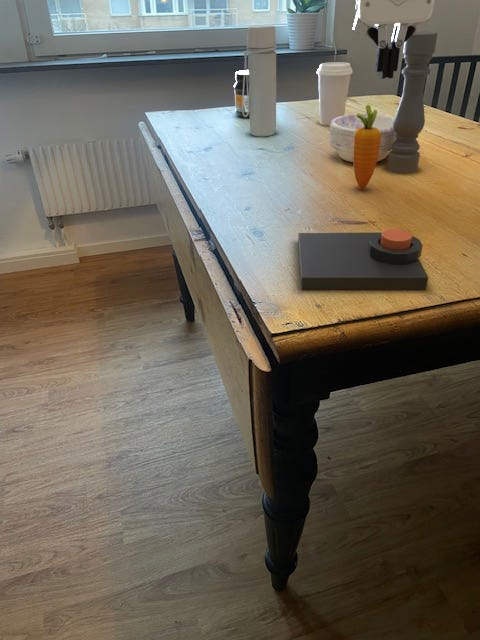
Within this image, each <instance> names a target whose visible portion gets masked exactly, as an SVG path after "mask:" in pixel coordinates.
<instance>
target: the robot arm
mask: <svg viewBox="0 0 480 640" xmlns="http://www.w3.org/2000/svg"><path fill="white" fill-rule="evenodd" d="M355 2H356V3H355V18H354V23H353V25H352V26H353V27H352V32H353V33H355V34H358V35H362V36H365V37H366V36H367V37H368V38H369V39H370V40H371V41H372V42H373V44H374V45H375V46H376V47H377V48H376V57H375V68H374V69H375V73H377V77H379V78H380V79H384V80H385V79H386V78H387V79H393V78H394V72H397V71H398V68H399V60H400V51H401V48H402V47H404V43H405V42H406V41H407V40H408V39H409V38H410V37H411V35H412V34H415V33H419V32H426V31H428V30H429V29H430V25H431V24H430V19H431V17H432V15H433V11H434V5H435V0H355ZM371 25H374V26H371ZM388 25H394V28H393V33H392V36H391V41H390V42H389V43H388V29H387V27H388Z"/></svg>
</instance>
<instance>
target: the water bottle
mask: <svg viewBox="0 0 480 640" xmlns="http://www.w3.org/2000/svg"><path fill="white" fill-rule="evenodd" d="M275 28H276V27H275V25H269V24H268V25H265V24H264V25H250V26H248V27H247V41H246V48H247V49H246V50H243V56H244V68H243V71H244V81H243V95H242V112H243V116H244V117H247V116H248V114H249V110H250V118H249V134H250V135H251V136H254V137H259V138H265V137H266V138H267V137H271V136H273V135H275V134H276V133H277V51H275V50H277V48H278V47H277V46H278V45H277V40H276V29H275ZM245 70H246V80H247V100H248V112H247V115H244V111H243V99H244V83H245ZM247 70H248V72H249V94H248V77H247Z"/></svg>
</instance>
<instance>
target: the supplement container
mask: <svg viewBox="0 0 480 640" xmlns="http://www.w3.org/2000/svg"><path fill="white" fill-rule="evenodd" d="M234 75H235V76H234V78H235V79H234V80H235V81H236V82H235V83H234V85H233V89H234V106H235V107H234V109H235V110H234V113H235V115H236V116H238V117H239V118H244V119H250V110H249V114H248V116H247V117H244V116H243V112H242V95H243V81H244V70H239V71H236V72H235V74H234ZM247 77H248V94H249V72H248V69H247ZM243 111H244V115H247V112H248V100H247V80H246V69H245V83H244V99H243Z"/></svg>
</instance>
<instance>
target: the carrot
mask: <svg viewBox="0 0 480 640" xmlns="http://www.w3.org/2000/svg"><path fill="white" fill-rule="evenodd" d="M365 112H366V114H367V116H368V120H367V117H365V116H363V115H361V114H362V113H356V114H357V115H356V116H357V117H358V118H360V119H361V120H362V122H363V124H364V127H362V128H358V129H357V130H356V131H355V133H354V143H353V162H352V163H353V172H354V177H355V181H356V183H357V186H358V188H359V189H360V190H361V191H363V190H365V188H366V187H367V186H368V184H369V183H370V181H371V179H372V178H373V175H374V172H375V169H376V166H377V159H378V153H379V147H380V140H381V133H380V131H379V130H378V129H377V128H374V127H372V125H373V123H374V121H375V118H376V115H378V110H377V109H373V111H372V106H371V105H370V104H367V105H365Z"/></svg>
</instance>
